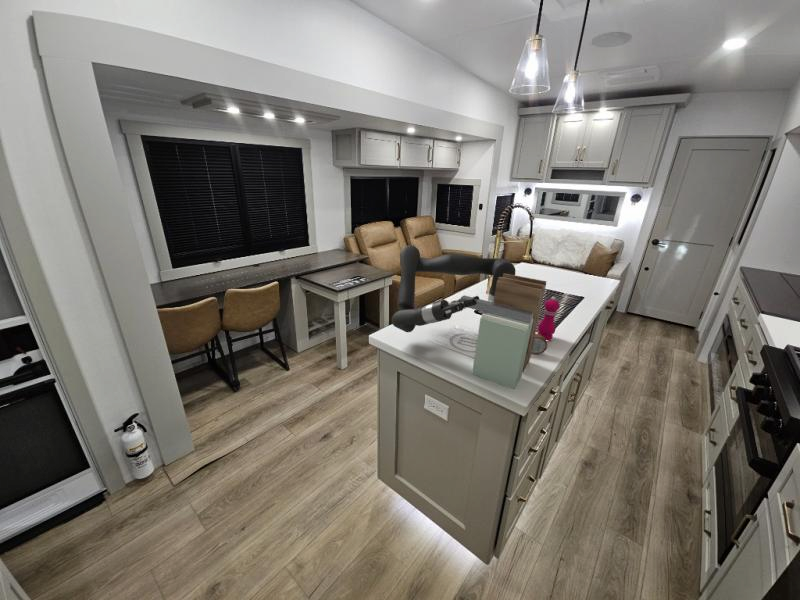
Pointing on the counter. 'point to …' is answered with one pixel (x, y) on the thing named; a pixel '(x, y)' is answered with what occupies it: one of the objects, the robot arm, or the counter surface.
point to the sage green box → (501, 349)
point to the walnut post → (521, 300)
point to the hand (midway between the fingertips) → (477, 300)
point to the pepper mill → (548, 319)
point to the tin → (539, 344)
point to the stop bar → (500, 310)
